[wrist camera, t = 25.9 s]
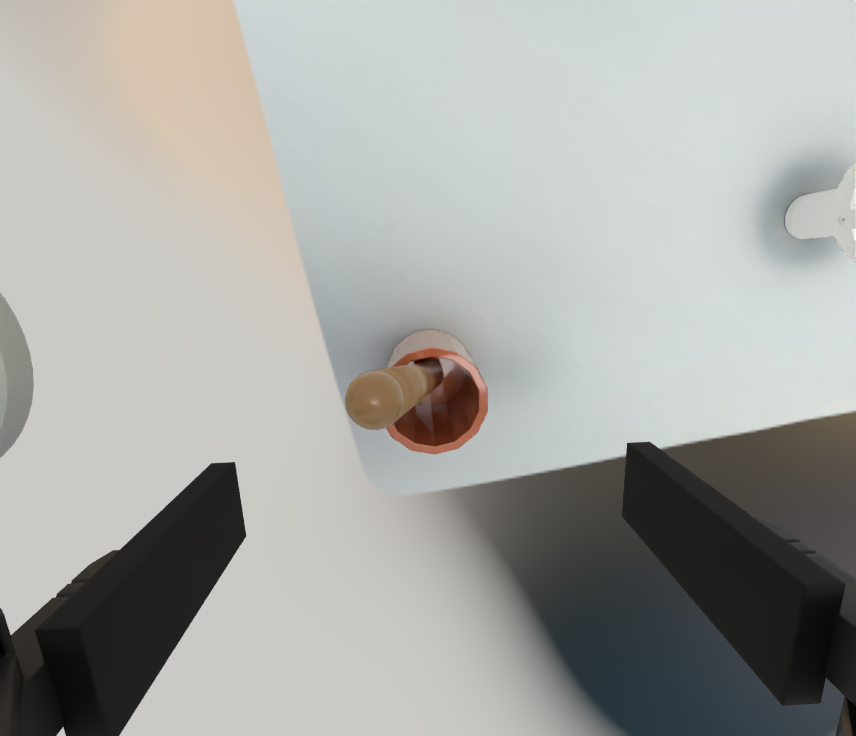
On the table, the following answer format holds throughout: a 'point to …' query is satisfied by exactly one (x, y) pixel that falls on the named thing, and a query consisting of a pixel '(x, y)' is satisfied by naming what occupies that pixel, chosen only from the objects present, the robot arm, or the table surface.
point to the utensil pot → (441, 395)
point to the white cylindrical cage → (827, 214)
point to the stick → (390, 393)
